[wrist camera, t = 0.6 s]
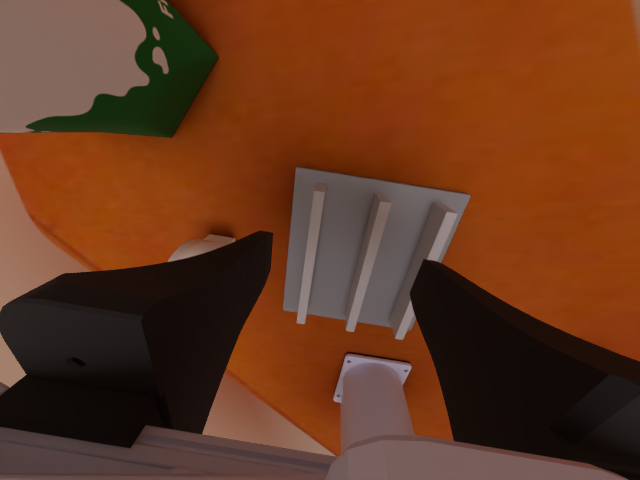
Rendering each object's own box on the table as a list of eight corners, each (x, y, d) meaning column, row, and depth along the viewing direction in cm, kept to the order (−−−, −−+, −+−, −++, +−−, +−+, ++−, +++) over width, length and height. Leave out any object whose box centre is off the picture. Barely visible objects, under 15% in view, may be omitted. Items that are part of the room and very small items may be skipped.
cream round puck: (236, 295, 25) (196, 362, 18) (214, 291, 25) (164, 357, 18) (235, 228, 21) (183, 278, 14) (208, 224, 21) (143, 272, 14)
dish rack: (409, 326, 25) (417, 349, 22) (283, 306, 25) (277, 327, 22) (467, 193, 18) (489, 204, 16) (297, 166, 18) (290, 172, 16)
